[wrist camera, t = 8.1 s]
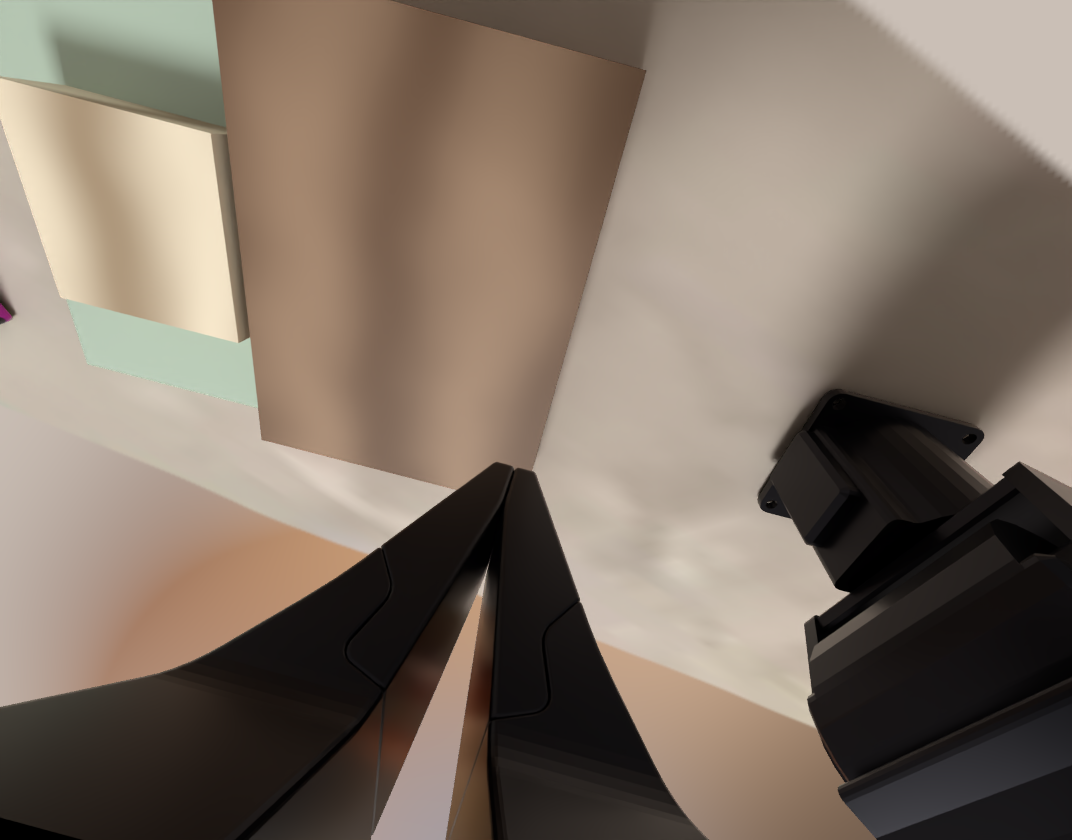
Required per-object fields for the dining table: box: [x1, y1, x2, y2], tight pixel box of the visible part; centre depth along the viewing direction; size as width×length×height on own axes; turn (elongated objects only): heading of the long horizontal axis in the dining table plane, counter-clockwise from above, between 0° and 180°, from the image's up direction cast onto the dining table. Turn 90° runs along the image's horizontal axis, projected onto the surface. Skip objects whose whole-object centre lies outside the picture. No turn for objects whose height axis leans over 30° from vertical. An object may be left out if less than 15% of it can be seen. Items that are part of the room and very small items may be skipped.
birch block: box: [0, 76, 250, 343], centre depth 16 cm, size 7×7×2 cm
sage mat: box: [0, 0, 258, 408], centre depth 18 cm, size 10×16×1 cm, turn 167°
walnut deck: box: [212, 0, 646, 490], centre depth 17 cm, size 12×16×2 cm
